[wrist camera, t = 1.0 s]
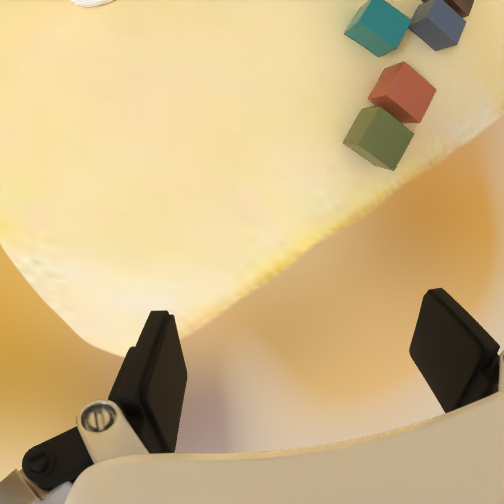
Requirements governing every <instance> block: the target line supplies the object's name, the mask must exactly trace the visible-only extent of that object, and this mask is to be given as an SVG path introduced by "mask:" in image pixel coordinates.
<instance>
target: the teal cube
mask: <svg viewBox="0 0 504 504" xmlns="http://www.w3.org/2000/svg"><path fill="white" fill-rule="evenodd" d="M410 23H411V20H410V19H409V18H408V17H406V16H405V15H404V14H402V13H401V12H400V11H398V10H397V9H396V8H394V7H393V6H392V5H390V4H389V3H387V2H386V1H384V0H368V1H367V2H366V3H365V4H364V5H363V6H362V7H361V8H360V9H359V11H358V12H357V14H356V15H355V17H354V18H353V20H352V22H351V23H350V25H349V26H348V28H347V29H346V31H345V33H344V34H345V35H347V36H348V37H350V38H351V39H353V40H354V41H356V42H357V43H359V44H360V45H362V46H363V47H365V48H366V49H368V50H369V51H370V52H372V53H373V54H375V55H376V56H377V57H379V56H381V55H384V54H386V53H388V52H390V51H392V50H394V49H397V47H398V45H399V43H400V42H401V40H402V38H403V36H404V34H405V32H406V31H407V29H408V27H409V25H410Z"/></svg>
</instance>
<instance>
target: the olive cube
mask: <svg viewBox="0 0 504 504" xmlns="http://www.w3.org/2000/svg"><path fill="white" fill-rule="evenodd" d="M413 135H414V133H413V132H411V131H410V130H409V129H408V128H407V127H406V126H404V125H403V124H402V123H401V122H399V121H398V120H397V119H396V118H394V117H393V116H392V115H391V114H389V113H388V112H387V111H385V110H384V109H383V108H382V107H380V106H379V107H372V108H365V109H362V110H361V112H360V114H359V115H358V117H357V119H356V121H355V122H354V124H353V126H352V128H351V129H350V131H349V133H348V134H347V136H346V138H345V140H344V141H343V144H345V145H346V146H348V147H349V148H351V149H352V150H354V151H355V152H357V153H358V154H360V155H361V156H362V157H364V158H365V159H367V160H368V161H369V162H371V163H372V164H374V165H375V166H379V167H382V168H385V169H389V170H392V171H394V170H395V168H396V166H397V164H398V163H399V161H400V159H401V157H402V155H403V154H404V152H405V150H406V148H407V146H408V145H409V143H410V141H411V139H412V137H413Z"/></svg>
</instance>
